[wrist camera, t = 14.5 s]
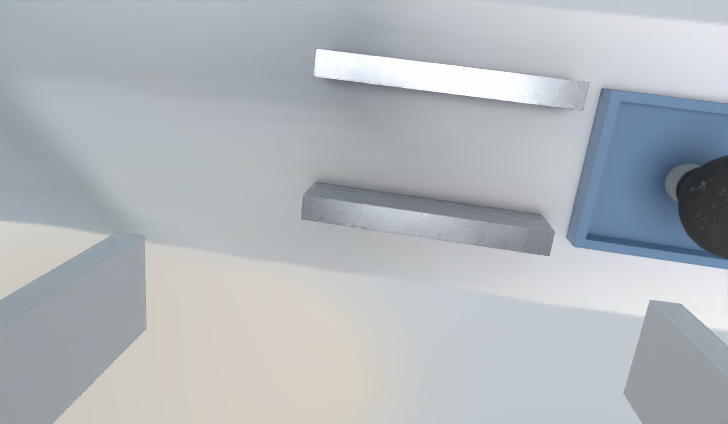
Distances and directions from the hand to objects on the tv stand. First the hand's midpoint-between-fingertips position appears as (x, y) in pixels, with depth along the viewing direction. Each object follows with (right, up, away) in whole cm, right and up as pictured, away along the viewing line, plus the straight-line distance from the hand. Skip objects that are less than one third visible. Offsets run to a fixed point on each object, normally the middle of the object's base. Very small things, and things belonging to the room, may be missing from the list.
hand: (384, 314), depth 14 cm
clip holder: (+4, +7, +22) cm, 24 cm away
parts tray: (+20, +5, +21) cm, 30 cm away
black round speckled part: (+20, +5, +21) cm, 29 cm away
